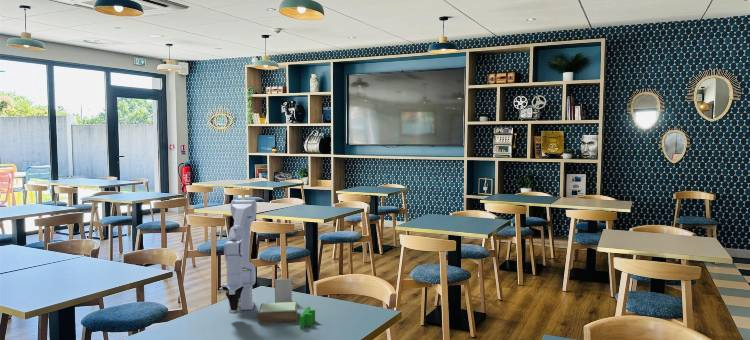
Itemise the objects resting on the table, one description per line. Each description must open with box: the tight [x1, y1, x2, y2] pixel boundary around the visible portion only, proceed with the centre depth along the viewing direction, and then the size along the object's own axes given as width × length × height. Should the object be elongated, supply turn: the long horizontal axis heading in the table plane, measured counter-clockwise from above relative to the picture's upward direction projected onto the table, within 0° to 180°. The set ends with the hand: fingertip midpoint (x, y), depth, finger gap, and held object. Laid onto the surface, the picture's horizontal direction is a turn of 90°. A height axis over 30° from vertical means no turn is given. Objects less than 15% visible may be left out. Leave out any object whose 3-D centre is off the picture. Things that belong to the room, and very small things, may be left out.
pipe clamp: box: [299, 306, 316, 330], centre depth 200 cm, size 11×4×5 cm, turn 173°
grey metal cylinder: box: [228, 297, 242, 315], centre depth 203 cm, size 4×4×5 cm
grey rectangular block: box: [274, 278, 293, 303], centre depth 225 cm, size 4×7×10 cm, turn 95°
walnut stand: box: [257, 301, 298, 324], centre depth 206 cm, size 11×14×4 cm
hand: (235, 307), depth 203 cm, fingers closed on grey metal cylinder, 4 cm apart
